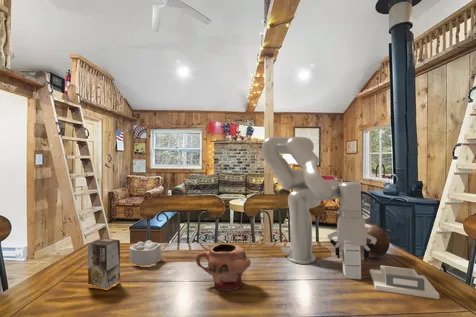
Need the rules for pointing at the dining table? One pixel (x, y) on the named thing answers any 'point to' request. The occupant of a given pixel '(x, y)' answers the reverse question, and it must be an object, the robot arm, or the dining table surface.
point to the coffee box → (104, 262)
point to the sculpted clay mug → (225, 265)
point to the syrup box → (351, 260)
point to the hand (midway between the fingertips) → (351, 258)
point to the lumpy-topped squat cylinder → (145, 253)
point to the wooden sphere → (381, 243)
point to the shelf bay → (402, 282)
